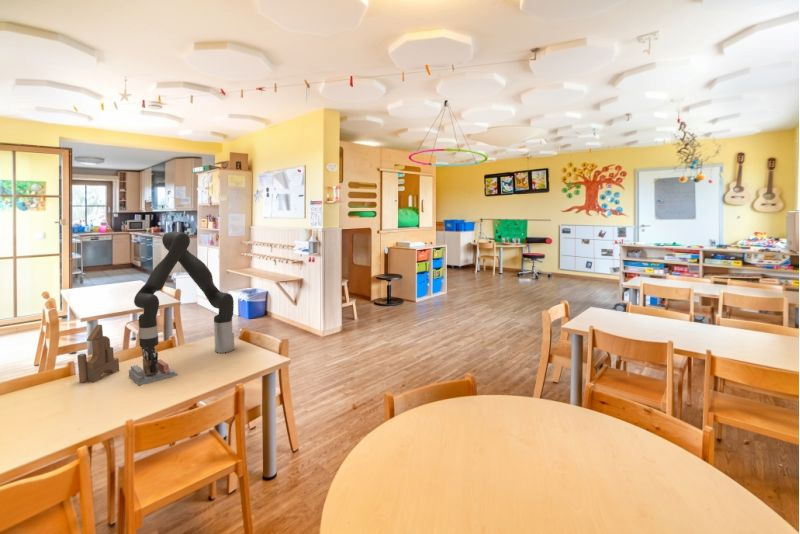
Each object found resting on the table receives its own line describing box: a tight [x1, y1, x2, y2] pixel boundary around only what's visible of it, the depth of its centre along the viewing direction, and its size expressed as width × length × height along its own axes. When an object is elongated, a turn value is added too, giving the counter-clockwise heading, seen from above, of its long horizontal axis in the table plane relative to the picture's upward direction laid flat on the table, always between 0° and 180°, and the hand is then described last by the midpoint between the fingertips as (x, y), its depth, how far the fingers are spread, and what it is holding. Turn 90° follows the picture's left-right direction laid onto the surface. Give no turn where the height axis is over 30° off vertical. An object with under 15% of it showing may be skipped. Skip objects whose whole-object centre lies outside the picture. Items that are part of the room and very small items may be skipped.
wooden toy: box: [77, 324, 120, 384], centre depth 183 cm, size 15×7×25 cm, turn 172°
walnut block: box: [142, 358, 158, 375], centre depth 185 cm, size 4×5×6 cm
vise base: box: [128, 364, 178, 386], centre depth 186 cm, size 16×14×6 cm
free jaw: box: [158, 359, 170, 374], centre depth 189 cm, size 2×13×4 cm, turn 50°
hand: (150, 370), depth 186 cm, fingers closed on walnut block, 5 cm apart
